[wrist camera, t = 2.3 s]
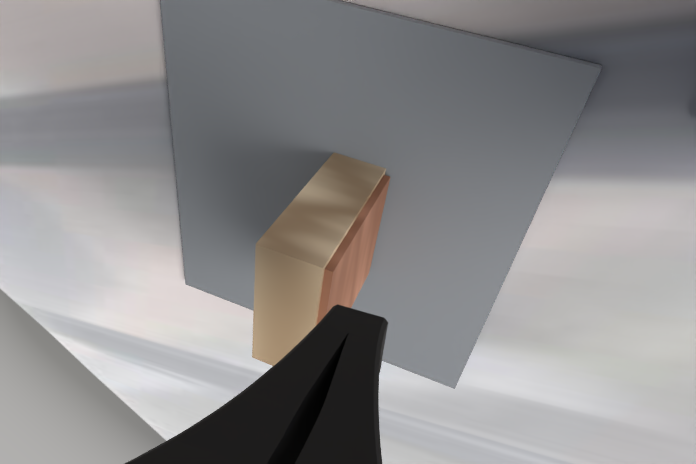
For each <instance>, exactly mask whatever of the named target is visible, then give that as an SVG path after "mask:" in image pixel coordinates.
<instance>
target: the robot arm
mask: <svg viewBox="0 0 696 464" xmlns="http://www.w3.org/2000/svg"><path fill="white" fill-rule="evenodd" d="M387 327H388V322H387V320H386V319H385V318H384V317H380V316H377V315H373V314H370V313H366V312H363V311H359V310H356V309H352V308H349V307H345V306H341V305H338V304H337V305H335V306H333V307H332V308H331V309H330V311H329V312H328V313H327V314H326V315H325V316H324V318H323V319H322V320H321V321H320V322H319V323H318V324H317V325H316V326H315V327H314V328H313V329H312V330H311V331H310V332H309V333H308V334H307V335H306V336H305V337H304V338H303V339H302V340H301V341H300V342H299V343H298V344H297V345H296V346H295V347H294V348H293V349H292V350H291V351H290V352H289V353H288V354H287V355H285V356H284V357H283V358H282V359H281V360H280V361H279V362H278V363H277V364H276V365H274V366H273V367H272V368H271V369H270V370H268V371H267V372H266V373H265V374H264V375H262V376H261V377H260V378H259V379H258V380H256V381H255V382H254V383H253V384H251V385H250V386H249V387H248V388H246V389H245V390H244V391H242V392H241V393H240V394H238V395H237V396H236V397H234V398H233V399H232V400H230V401H229V402H227V403H226V404H225V405H223V406H222V407H220V408H219V409H218V410H216V411H215V412H213V413H212V414H210V415H208V416H207V417H205V418H204V419H202V420H201V421H199V422H198V423H196V424H195V425H193V426H191V427H190V428H188V429H187V430H185V431H183V432H182V433H180V434H178V435H177V436H175V437H173V438H171V439H169V440H168V441H166V442H164V443H162V444H160V445H159V446H157V447H155V448H153V449H151V450H149V451H148V452H146V453H144V454H142V455H140V456H139V457H137V458H135V459H133V460H131V461H129V462H127V463H125V464H382V457H381V447H380V433H379V411H378V389H379V372H380V368H381V362H382V356H383V350H384V345H385V339H386V333H387Z"/></svg>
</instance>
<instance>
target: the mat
mask: <svg viewBox="0 0 696 464" xmlns="http://www.w3.org/2000/svg"><path fill="white" fill-rule="evenodd" d="M160 5H161V16H162V27H163V39H164V50H165V61H166V72H167V83H168V94H169V105H170V116H171V128H172V139H173V150H174V161H175V172H176V183H177V194H178V205H179V216H180V228H181V239H182V250H183V261H184V272H185V283H186V285H189V286H192V287H194V288H197V289H199V290H202V291H204V292H207V293H210V294H212V295H215V296H217V297H220V298H222V299H225V300H228V301H230V302H233V303H235V304H238V305H240V306H243V307H246V308H248V309H251V310H253V311H254V282H255V248H256V243H257V242H258V241H259V239H260V238H261V237H262V236H263V235H264V233H265V232H266V231H267V230H268V229H269V228H270V226H271V225H272V224H273V223H274V222H275V221H276V219H277V218H278V217H279V216H280V215H281V214H282V212H283V211H284V210H285V209H286V208H287V207H288V205H289V204H290V203H291V202H292V201H293V200H294V198H295V197H296V196H297V195H298V194H299V193H300V191H301V190H302V189H303V188H304V187H305V186H306V184H307V183H308V182H309V181H310V180H311V179H312V177H313V176H314V175H315V174H316V173H317V172H318V170H319V169H320V168H321V167H322V166H323V164H324V163H325V162H326V161H327V160H328V159H329V157H330V156H331V155H332V154H333V153H338V154H341V155H344V156H347V157H351V158H354V159H357V160H360V161H363V162H367V163H370V164H373V165H376V166H380V167H383V168H386V171H385V175H386V176H390V182H389V186H388V191H387V195H386V200H385V204H384V209H383V213H382V217H381V222H380V226H379V231H378V235H377V240H376V244H375V249H374V253H373V258H372V262H371V267H370V271H369V274H368V276H367V278H366V280H365V282H364V284H363V286H362V288H361V290H360V292H359V293H358V295H357V297H356V299H355V301H354V303H353V305H352V307H351V308H352V309H356V310H359V311H363V312H366V313H370V314H373V315H377V316H380V317H384V318H385V319H386V320H387V322H388V327H387V333H386V339H385V345H384V350H383V356H382V361H384V362H387V363H390V364H392V365H395V366H397V367H400V368H402V369H405V370H408V371H410V372H413V373H415V374H418V375H420V376H423V377H426V378H428V379H431V380H433V381H436V382H438V383H441V384H444V385H446V386H449V387H451V388H454V389H455V387H456V385H457V383H458V380H459V378H460V376H461V374H462V372H463V369H464V367H465V365H466V363H467V361H468V359H469V356H470V354H471V352H472V350H473V348H474V346H475V343H476V341H477V339H478V337H479V335H480V332H481V330H482V328H483V326H484V324H485V322H486V319H487V317H488V315H489V313H490V311H491V309H492V306H493V304H494V302H495V300H496V298H497V295H498V293H499V291H500V289H501V287H502V285H503V282H504V280H505V278H506V276H507V274H508V271H509V269H510V267H511V265H512V263H513V261H514V258H515V256H516V254H517V252H518V250H519V248H520V245H521V243H522V241H523V239H524V237H525V234H526V232H527V230H528V228H529V226H530V224H531V221H532V219H533V217H534V215H535V213H536V211H537V208H538V206H539V204H540V202H541V200H542V197H543V195H544V193H545V191H546V189H547V187H548V184H549V182H550V180H551V178H552V176H553V173H554V171H555V169H556V167H557V165H558V163H559V160H560V158H561V156H562V154H563V152H564V150H565V147H566V145H567V143H568V141H569V139H570V136H571V134H572V132H573V130H574V128H575V126H576V123H577V121H578V119H579V117H580V115H581V113H582V110H583V108H584V106H585V104H586V102H587V99H588V97H589V95H590V93H591V91H592V89H593V86H594V84H595V82H596V80H597V78H598V76H599V73H600V71H601V69H602V67H601V65H599V64H595V63H591V62H587V61H583V60H579V59H575V58H571V57H567V56H563V55H559V54H555V53H551V52H547V51H543V50H539V49H535V48H531V47H526V46H522V45H518V44H514V43H510V42H506V41H502V40H498V39H494V38H490V37H486V36H482V35H478V34H474V33H470V32H466V31H462V30H458V29H454V28H450V27H446V26H441V25H437V24H433V23H429V22H425V21H421V20H417V19H413V18H409V17H405V16H401V15H397V14H393V13H389V12H385V11H381V10H377V9H373V8H369V7H365V6H360V5H356V4H352V3H348V2H344V1H340V0H160Z"/></svg>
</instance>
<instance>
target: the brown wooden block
mask: <svg viewBox="0 0 696 464" xmlns="http://www.w3.org/2000/svg"><path fill="white" fill-rule="evenodd" d="M385 171H386V168H383V167H380V166H376V165H373V164H370V163H367V162H363V161H360V160H357V159H354V158H351V157H347V156H344V155H341V154H338V153H333V154H332V155H331V156H330V157H329V159H328V160H327V161H326V162H325V163H324V164H323V166H322V167H321V168H320V169H319V170H318V172H317V173H316V174H315V175H314V176H313V177H312V179H311V180H310V181H309V182H308V183H307V184H306V186H305V187H304V188H303V189H302V190H301V191H300V193H299V194H298V195H297V196H296V197H295V198H294V200H293V201H292V202H291V203H290V204H289V205H288V207H287V208H286V209H285V210H284V211H283V212H282V214H281V215H280V216H279V217H278V218H277V219H276V221H275V222H274V223H273V224H272V225H271V226H270V228H269V229H268V230H267V231H266V232H265V233H264V235H263V236H262V237H261V238H260V239H259V241H258V242H257V243H256V248H255V282H254V316H253V350H252V357H253V358H255V359H258V360H260V361H263V362H265V363H267V364H270V365H272V366H274V365H276V364H277V363H278V362H279V361H280V360H281V359H282V358H283V357H284V356H285V355H287V354H288V353H289V352H290V351H291V350H292V349H293V348H294V347H295V346H296V345H297V344H298V343H299V342H300V341H301V340H302V339H303V338H304V337H305V336H306V335H307V334H308V333H309V332H310V331H311V330H312V329H313V328H314V327H315V326H316V325H317V324H318V323H319V322H320V321H321V320H322V319H323V318H324V316H325V315H326V314H327V313H328V312H329V311H330V309H331V308H332V307H333V306H335V305H337V304H338V305H341V306H345V307H349V308H351V307H352V305H353V303H354V301H355V299H356V297H357V295H358V293H359V292H360V290H361V288H362V286H363V284H364V282H365V280H366V278H367V276H368V274H369V271H370V267H371V262H372V258H373V253H374V249H375V244H376V240H377V235H378V231H379V226H380V222H381V217H382V213H383V209H384V204H385V200H386V195H387V191H388V186H389V182H390V176H386V175H385Z"/></svg>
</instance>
